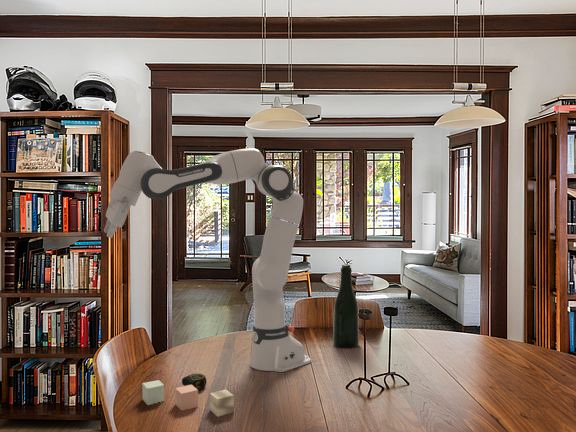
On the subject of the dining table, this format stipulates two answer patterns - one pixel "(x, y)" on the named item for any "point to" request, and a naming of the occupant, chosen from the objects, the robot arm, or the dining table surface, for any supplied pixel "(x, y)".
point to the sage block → (153, 392)
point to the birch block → (221, 402)
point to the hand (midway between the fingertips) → (107, 234)
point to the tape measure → (195, 380)
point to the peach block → (186, 397)
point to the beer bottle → (346, 313)
